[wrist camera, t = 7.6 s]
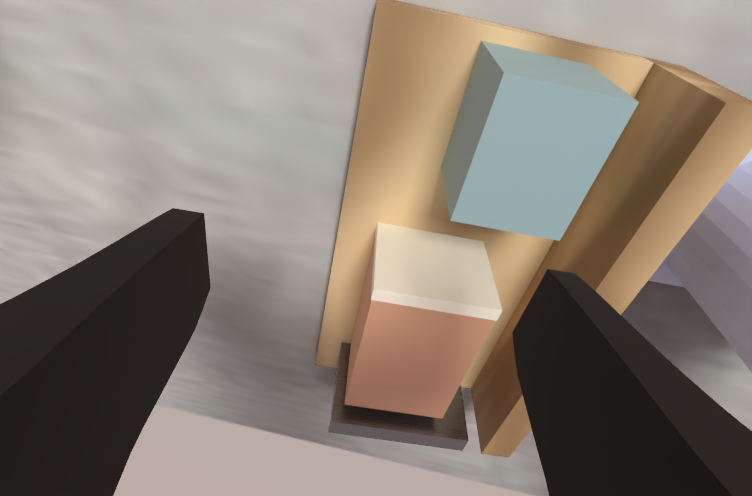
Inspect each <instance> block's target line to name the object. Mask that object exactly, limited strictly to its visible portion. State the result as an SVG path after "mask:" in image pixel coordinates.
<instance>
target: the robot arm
mask: <svg viewBox="0 0 752 496" xmlns="http://www.w3.org/2000/svg"><path fill="white" fill-rule="evenodd" d="M648 281H651V282H657V283H662V284H668V285H673V286H679V287H684V288H686V289H687V291H688V292H689V293H690V295H691V296H692V297H693V298H694V300H695V301H696V302H697V303H698V305H699V306H700V307H701V309H702V310H703V311H704V312H705V314H706V315H707V316H708V317H709V319H710V320H711V321H712V322H713V324H714V325H715V326H716V328H717V329H718V330H719V331H720V333H721V334H722V335H723V336H724V338H725V339H726V340H727V342H728V343H729V344H730V345H731V347H732V348H733V349H734V350H735V352H736V353H737V354H738V355H739V357H740V358H741V359H742V361H743V362H744V363H745V364H746V366H747V367H748V368H749V369H750V371H751V372H752V149H751V150H750V152H749V153H748V154H747V156H746V157H745V158H744V159H743V161H742V162H741V163H740V164H739V166H738V167H737V168H736V169H735V171H734V172H733V173H732V175H731V176H730V177H729V178H728V180H727V181H726V182H725V183H724V185H723V186H722V187H721V189H720V190H719V191H718V192H717V194H716V195H715V196H714V197H713V199H712V200H711V201H710V203H709V204H708V205H707V206H706V208H705V209H704V210H703V211H702V213H701V214H700V215H699V216H698V218H697V219H696V220H695V222H694V223H693V224H692V225H691V227H690V228H689V229H688V230H687V232H686V233H685V234H684V236H683V237H682V238H681V239H680V241H679V242H678V243H677V244H676V246H675V247H674V248H673V250H672V251H671V252H670V253H669V255H668V256H667V257H666V258H665V260H664V261H663V262H662V263H661V265H660V266H659V267H658V269H657V270H656V271H655V272H654V274H653V275H652V276H651V277H650V279H649V280H648ZM209 290H210V278H209V266H208V255H207V243H206V231H205V220H204V213H199V212H192V211H186V210H180V209H174V208H173V209H171V210H169V211H167V212H165V213H163V214H162V215H160V216H158V217H156V218H155V219H153V220H151V221H150V222H148V223H146V224H145V225H143V226H141V227H140V228H138V229H136V230H135V231H133V232H131V233H130V234H128V235H126V236H125V237H123V238H121V239H120V240H118V241H116V242H114V243H113V244H111V245H109V246H107V247H106V248H104V249H102V250H101V251H99V252H97V253H95V254H94V255H92V256H90V257H89V258H87V259H85V260H83V261H82V262H80V263H78V264H76V265H75V266H73V267H71V268H69V269H67V270H65V271H63V272H61V273H59V274H58V275H56V276H54V277H52V278H50V279H48V280H46V281H44V282H42V283H41V284H39V285H37V286H35V287H33V288H31V289H29V290H27V291H25V292H23V293H22V294H20V295H18V296H16V297H14V298H12V299H10V300H8V301H6V302H4V303H2V304H0V496H113V494H114V492H115V489H116V487H117V485H118V482H119V480H120V477H121V475H122V472H123V470H124V468H125V465H126V463H127V460H128V458H129V456H130V453H131V451H132V449H133V447H134V445H135V443H136V441H137V439H138V437H139V435H140V433H141V431H142V428H143V427H144V425H145V423H146V421H147V419H148V417H149V415H150V414H151V412H152V410H153V408H154V406H155V404H156V402H157V400H158V399H159V397H160V395H161V393H162V391H163V389H164V387H165V385H166V384H167V382H168V380H169V378H170V376H171V374H172V372H173V370H174V369H175V367H176V365H177V363H178V361H179V359H180V357H181V355H182V353H183V352H184V350H185V348H186V346H187V344H188V342H189V340H190V338H191V336H192V334H193V332H194V330H195V328H196V325H197V323H198V320H199V317H200V315H201V312H202V310H203V307H204V304H205V301H206V298H207V296H208V293H209ZM512 335H513V344H514V353H515V361H516V368H517V375H518V379H519V383H520V387H521V391H522V394H523V398H524V402H525V406H526V410H527V413H528V417H529V420H530V424H531V428H532V431H533V435H534V439H535V442H536V446H537V450H538V453H539V457H540V460H541V464H542V468H543V471H544V475H545V479H546V483H547V487H548V492H549V496H752V431H751V430H749V429H748V428H747V427H746V426H744V425H743V424H742V423H740V422H739V421H738V420H737V419H736V418H734V417H733V416H732V415H731V414H729V413H728V412H727V411H726V410H725V409H723V408H722V407H721V406H720V405H719V404H717V403H716V402H715V401H714V400H713V399H712V398H711V397H709V396H708V395H707V394H706V393H705V392H704V391H702V390H701V389H700V388H699V387H698V386H697V385H696V384H694V383H693V382H692V381H691V380H690V379H689V378H688V377H686V376H685V375H684V374H683V373H682V372H681V371H680V370H679V369H678V368H676V367H675V366H674V365H673V364H672V363H671V362H670V361H669V360H668V359H667V358H665V357H664V356H663V355H662V354H661V353H660V352H659V351H658V350H657V349H656V348H655V347H654V346H653V345H652V344H650V343H649V342H648V341H647V340H646V339H645V338H644V337H643V336H642V335H641V334H640V333H639V332H638V331H637V330H636V329H635V328H634V327H633V326H632V325H630V324H629V323H628V322H627V321H626V320H625V319H624V318H623V317H622V316H621V315H620V314H619V313H618V312H617V311H616V310H615V309H614V308H613V307H612V306H611V305H610V304H609V303H608V302H606V301H605V300H604V299H603V298H602V297H601V296H600V295H599V294H598V293H597V292H596V291H595V290H594V289H593V288H591V287H590V286H589V285H588V284H587V283H586V282H585V281H584V280H582V279H581V278H580V277H579V276H577V275H576V274H575V273H570V272H563V271H557V270H551V269H547V271H546V273H545V274H544V276H543V278H542V280H541V282H540V283H539V285H538V287H537V289H536V291H535V292H534V294H533V296H532V298H531V300H530V301H529V303H528V305H527V307H526V309H525V310H524V312H523V314H522V316H521V318H520V319H519V321H518V323H517V325H516V327H515V328H514V330H513V332H512Z"/></svg>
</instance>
